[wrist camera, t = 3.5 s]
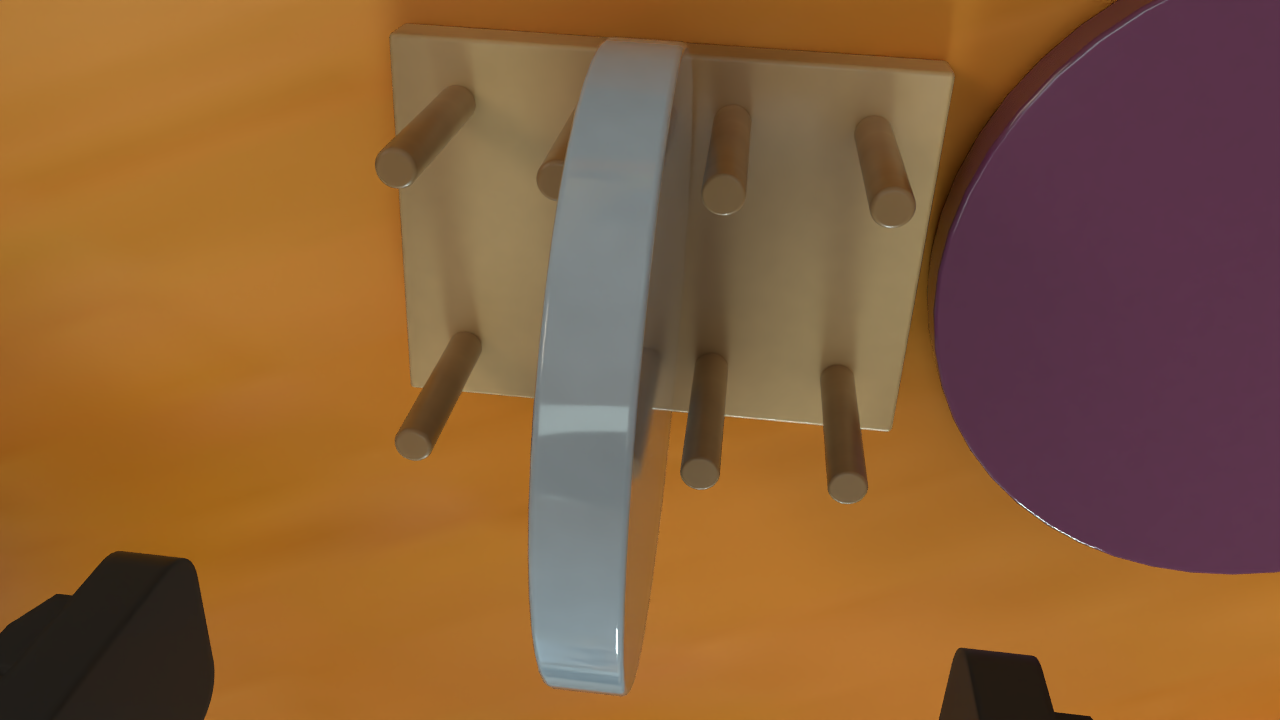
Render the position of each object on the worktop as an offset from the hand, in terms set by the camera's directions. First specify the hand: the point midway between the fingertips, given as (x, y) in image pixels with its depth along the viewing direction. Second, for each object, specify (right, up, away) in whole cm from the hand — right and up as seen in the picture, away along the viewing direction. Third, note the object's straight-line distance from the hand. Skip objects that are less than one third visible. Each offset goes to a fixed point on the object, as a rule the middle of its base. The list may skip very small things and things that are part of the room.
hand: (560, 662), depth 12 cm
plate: (+1, +3, +6) cm, 7 cm away
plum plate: (+13, +5, +10) cm, 17 cm away
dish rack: (+1, +6, +11) cm, 13 cm away
